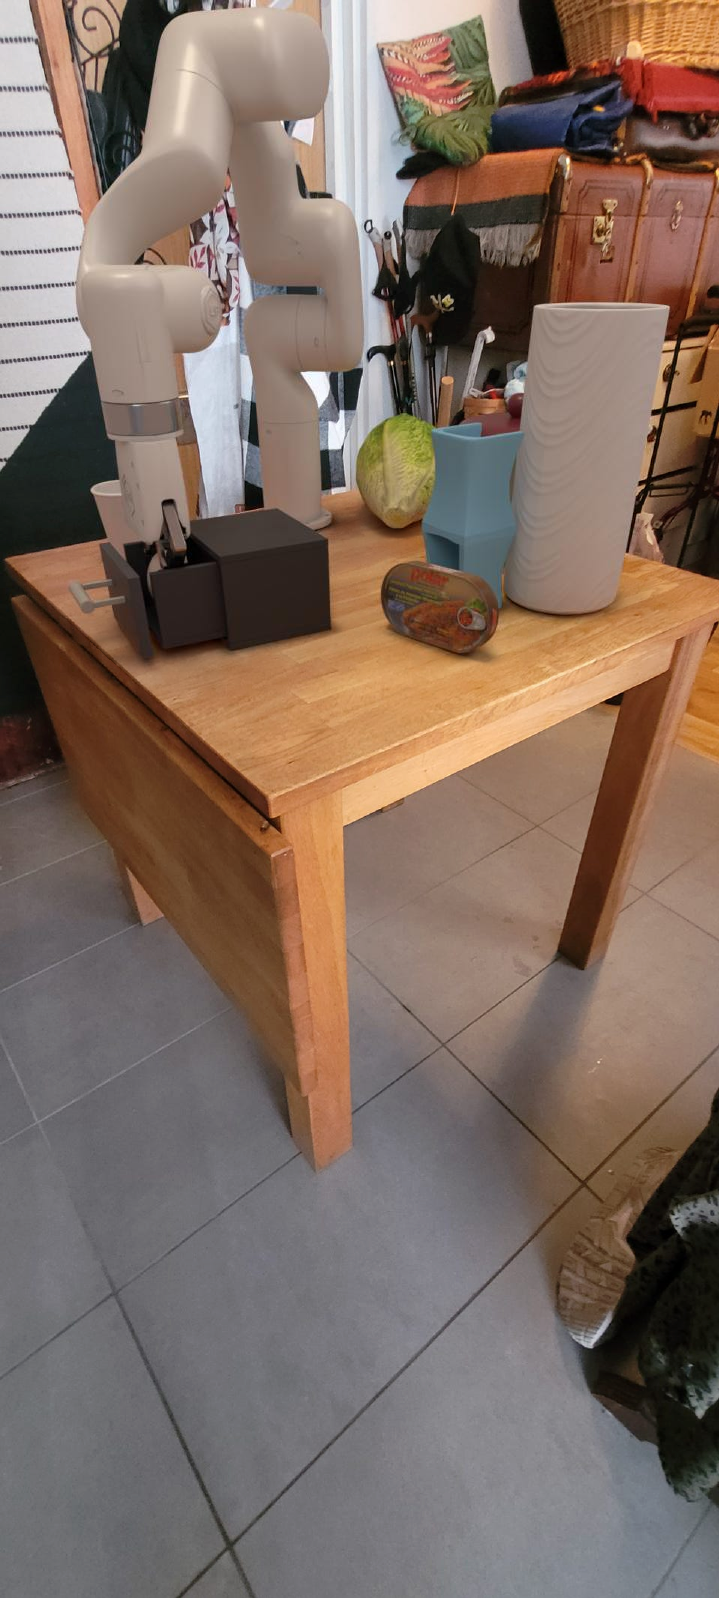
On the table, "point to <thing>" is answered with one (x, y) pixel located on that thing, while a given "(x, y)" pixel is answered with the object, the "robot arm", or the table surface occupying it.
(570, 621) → the table surface
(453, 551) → the vase
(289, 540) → the cabinet
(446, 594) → the tin
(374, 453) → the lettuce
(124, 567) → the drawer
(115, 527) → the dixie cup
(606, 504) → the vase
